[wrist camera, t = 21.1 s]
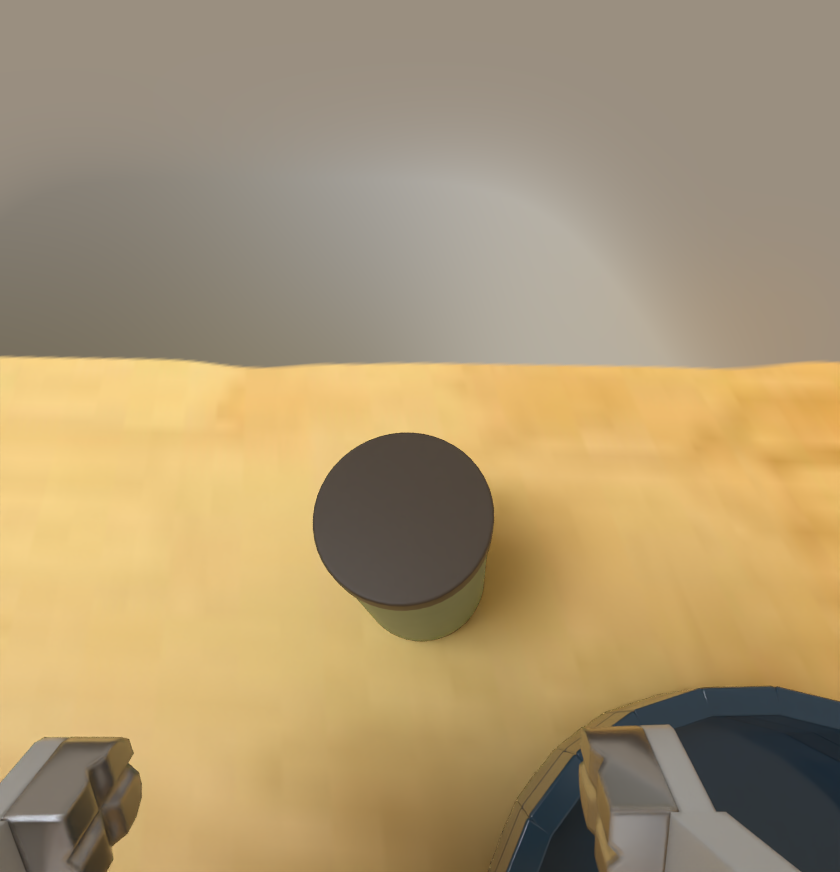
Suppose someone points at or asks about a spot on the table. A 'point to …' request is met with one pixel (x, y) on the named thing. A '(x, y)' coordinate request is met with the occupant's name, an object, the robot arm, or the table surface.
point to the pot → (704, 777)
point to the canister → (407, 532)
